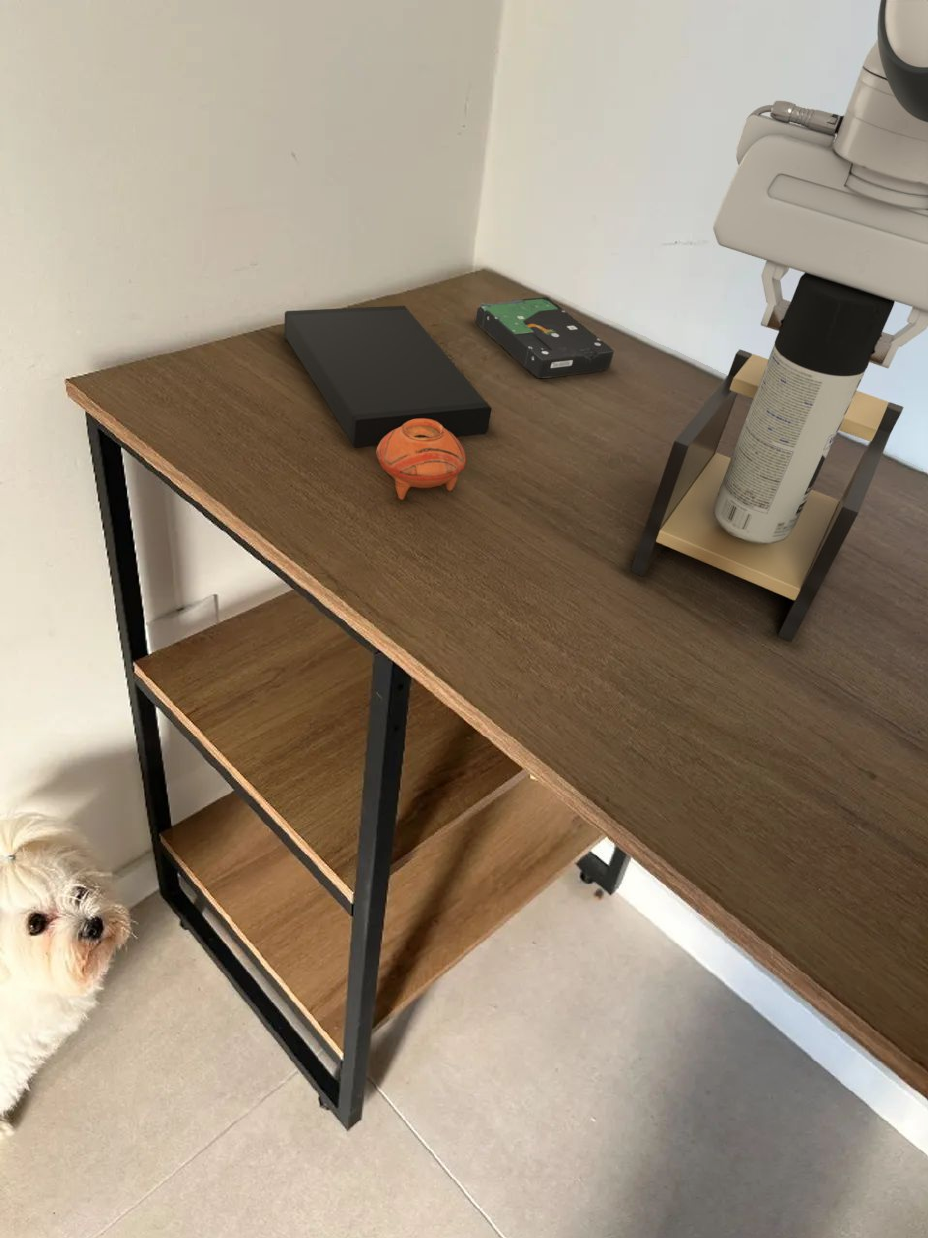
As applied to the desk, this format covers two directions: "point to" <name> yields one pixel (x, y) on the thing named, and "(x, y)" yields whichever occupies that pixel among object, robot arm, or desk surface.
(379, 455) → the pot
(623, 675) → the desk surface
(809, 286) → the spray can
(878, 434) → the shelf
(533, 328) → the disk drive
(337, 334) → the external hard drive
